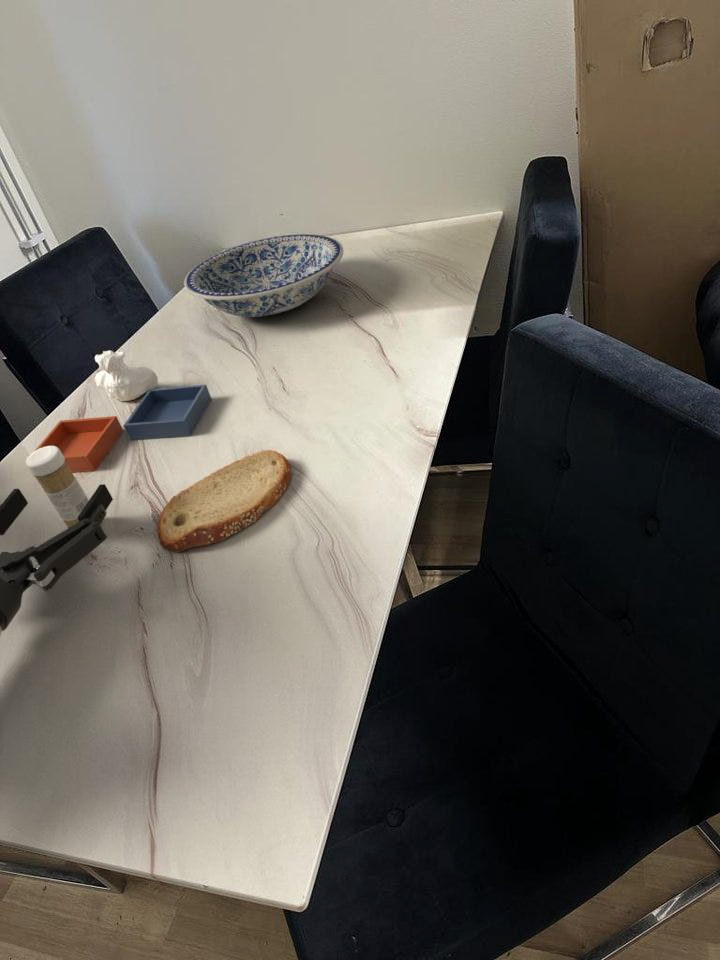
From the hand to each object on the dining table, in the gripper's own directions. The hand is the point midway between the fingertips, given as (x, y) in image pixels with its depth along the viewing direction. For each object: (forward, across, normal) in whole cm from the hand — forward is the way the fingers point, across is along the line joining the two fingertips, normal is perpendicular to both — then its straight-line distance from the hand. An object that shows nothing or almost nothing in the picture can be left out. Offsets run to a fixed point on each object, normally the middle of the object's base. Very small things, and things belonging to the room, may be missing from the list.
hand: (63, 493), depth 92 cm
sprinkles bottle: (0, 0, -7) cm, 7 cm away
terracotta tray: (+19, -11, -7) cm, 23 cm away
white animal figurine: (+36, -9, -7) cm, 38 cm away
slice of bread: (+4, +21, -7) cm, 23 cm away
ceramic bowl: (+70, +11, -7) cm, 72 cm away
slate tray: (+27, +3, -7) cm, 28 cm away
